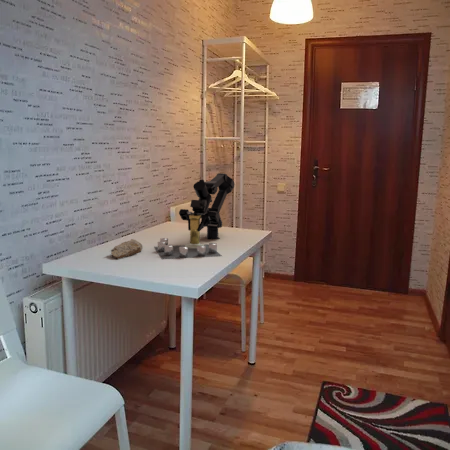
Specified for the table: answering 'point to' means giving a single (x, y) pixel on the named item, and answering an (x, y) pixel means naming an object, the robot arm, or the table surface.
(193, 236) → the brass sleeve
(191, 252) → the mat
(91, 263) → the table surface
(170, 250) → the spacers
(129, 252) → the stone
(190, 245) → the pad
